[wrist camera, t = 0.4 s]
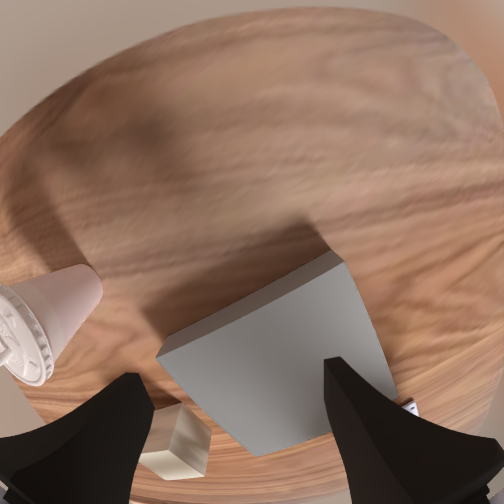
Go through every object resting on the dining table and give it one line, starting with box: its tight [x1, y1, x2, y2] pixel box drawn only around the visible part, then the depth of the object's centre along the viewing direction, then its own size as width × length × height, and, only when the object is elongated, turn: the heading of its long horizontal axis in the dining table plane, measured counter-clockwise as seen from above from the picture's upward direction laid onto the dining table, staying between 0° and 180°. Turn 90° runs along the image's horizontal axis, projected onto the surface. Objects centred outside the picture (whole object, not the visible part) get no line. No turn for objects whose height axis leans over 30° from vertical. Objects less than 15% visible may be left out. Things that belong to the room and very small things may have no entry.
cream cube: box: [139, 402, 212, 480], centre depth 20 cm, size 5×5×6 cm
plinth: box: [155, 249, 399, 457], centre depth 19 cm, size 14×14×3 cm
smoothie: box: [0, 264, 103, 386], centre depth 12 cm, size 6×6×14 cm
